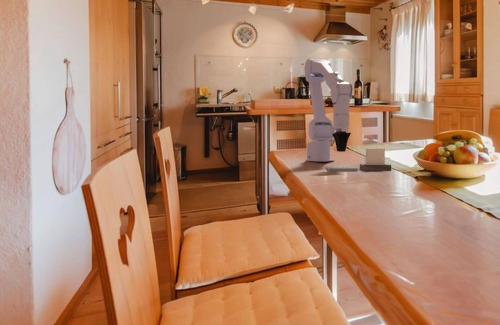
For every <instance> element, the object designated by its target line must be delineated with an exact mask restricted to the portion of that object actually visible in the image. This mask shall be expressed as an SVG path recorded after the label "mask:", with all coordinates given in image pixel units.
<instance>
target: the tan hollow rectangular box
mask: <svg viewBox="0 0 500 325" xmlns="http://www.w3.org/2000/svg"><path fill="white" fill-rule="evenodd" d="M359 170H361V171H365V172H367V171H371V172H373V171H374V172H375V171H378V172H379V171H392V165H391V164H389V163H385V165H366V163H360V164H359Z"/></svg>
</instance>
